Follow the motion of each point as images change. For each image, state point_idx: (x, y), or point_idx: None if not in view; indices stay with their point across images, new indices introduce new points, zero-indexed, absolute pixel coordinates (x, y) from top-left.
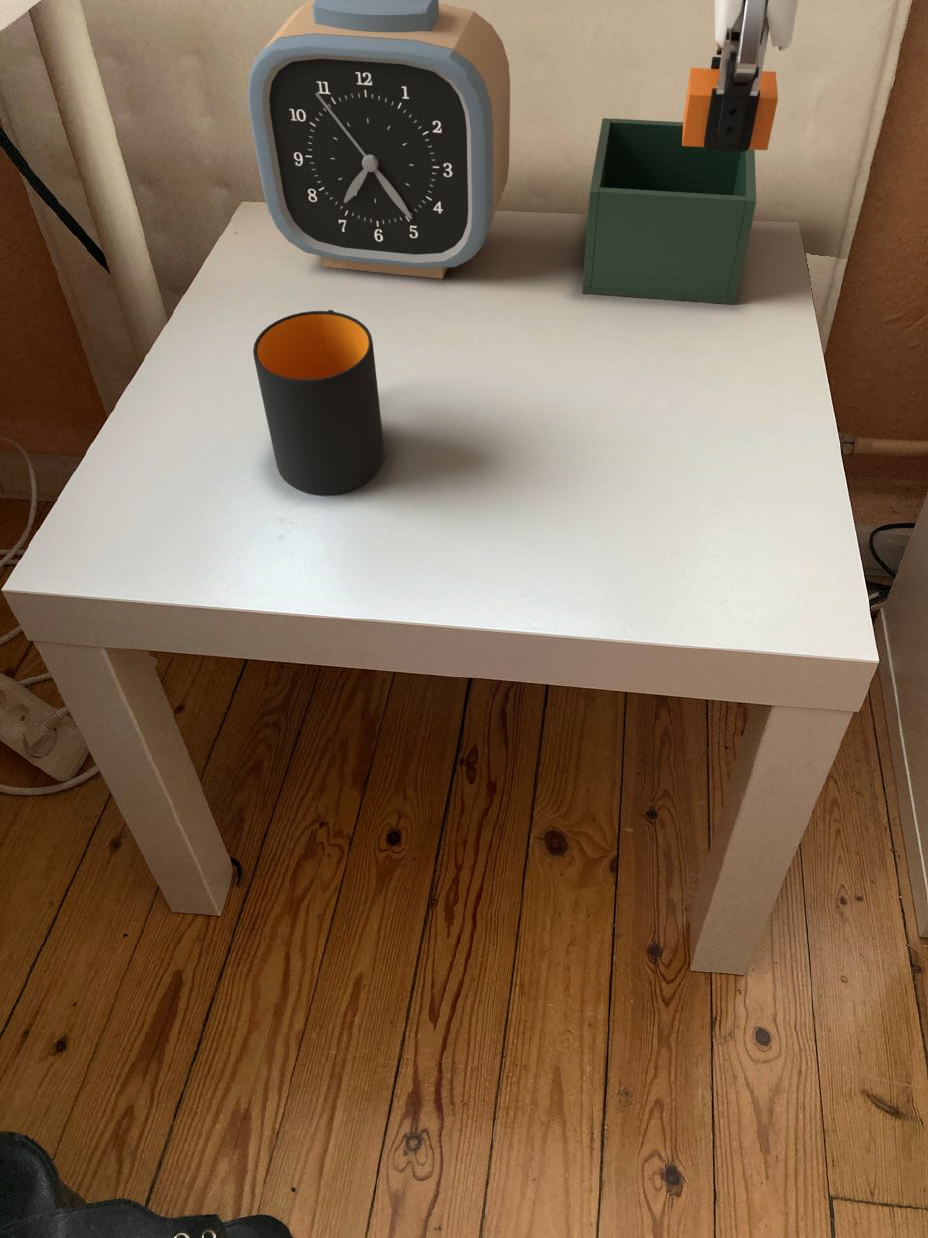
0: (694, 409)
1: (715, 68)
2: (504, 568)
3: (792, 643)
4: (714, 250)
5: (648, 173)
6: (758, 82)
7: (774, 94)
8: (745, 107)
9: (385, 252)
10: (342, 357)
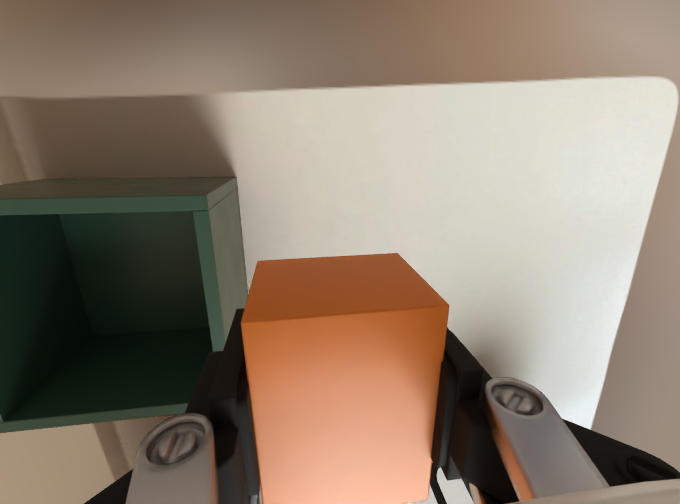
0: (418, 212)
1: (259, 478)
2: (578, 321)
3: (665, 132)
4: (228, 224)
5: (41, 321)
6: (553, 415)
7: (421, 315)
8: (489, 377)
9: (259, 495)
10: None
